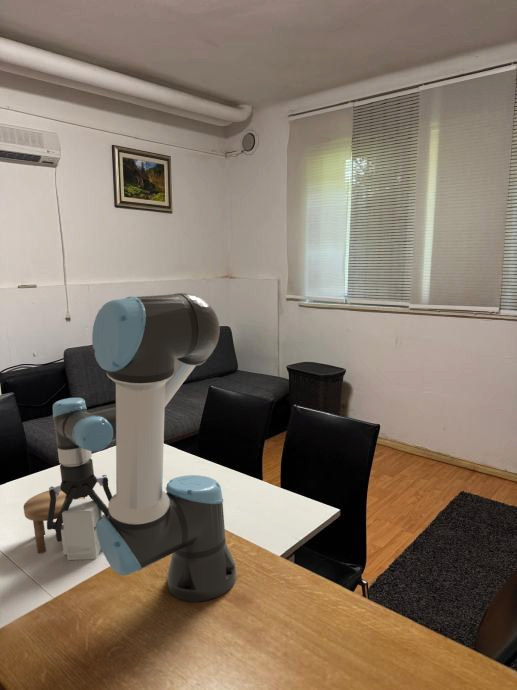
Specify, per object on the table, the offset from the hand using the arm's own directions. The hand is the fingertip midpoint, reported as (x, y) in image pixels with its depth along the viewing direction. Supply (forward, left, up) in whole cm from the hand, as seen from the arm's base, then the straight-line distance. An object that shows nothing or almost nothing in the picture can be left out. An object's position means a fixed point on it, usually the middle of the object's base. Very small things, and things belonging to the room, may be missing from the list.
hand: (86, 545), depth 120 cm
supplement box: (0, 0, -2) cm, 2 cm away
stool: (+11, +6, -2) cm, 13 cm away
